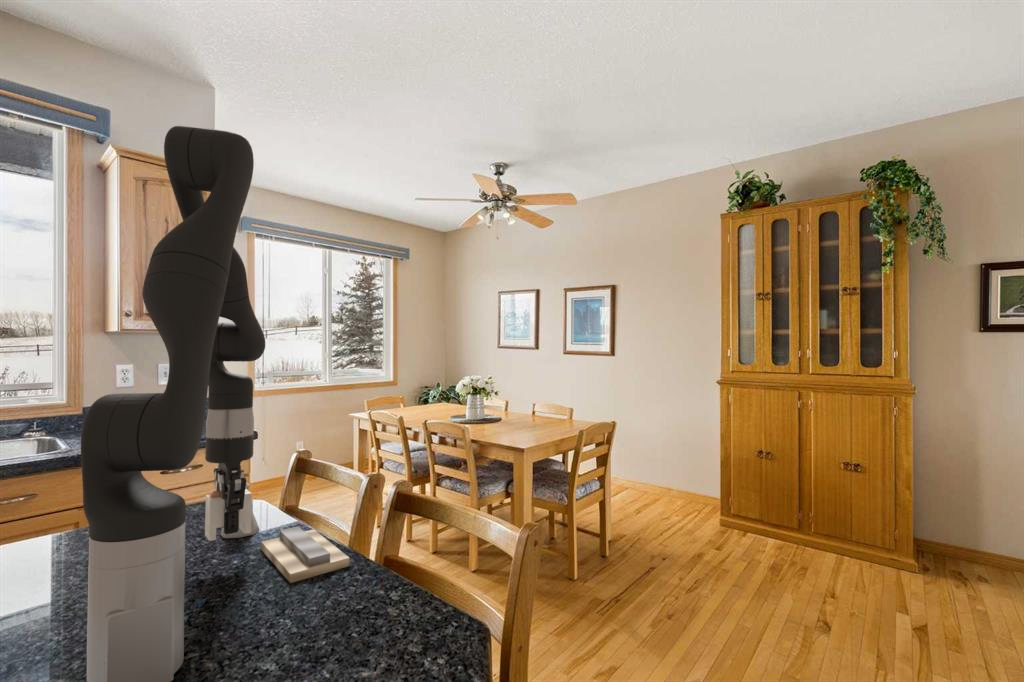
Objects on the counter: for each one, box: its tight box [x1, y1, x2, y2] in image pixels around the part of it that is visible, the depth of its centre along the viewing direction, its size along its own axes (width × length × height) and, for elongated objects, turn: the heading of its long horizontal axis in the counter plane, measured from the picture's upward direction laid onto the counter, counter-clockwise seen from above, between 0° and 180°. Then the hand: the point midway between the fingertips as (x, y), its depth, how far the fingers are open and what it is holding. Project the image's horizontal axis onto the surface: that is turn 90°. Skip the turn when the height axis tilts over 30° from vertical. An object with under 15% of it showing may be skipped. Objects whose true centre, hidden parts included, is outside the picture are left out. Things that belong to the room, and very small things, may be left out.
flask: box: [219, 482, 260, 539], centre depth 104 cm, size 7×7×10 cm
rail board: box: [260, 525, 350, 584], centre depth 92 cm, size 18×10×3 cm, turn 41°
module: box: [204, 489, 253, 542], centre depth 89 cm, size 4×6×8 cm, turn 131°
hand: (228, 529), depth 89 cm, fingers closed on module, 4 cm apart
